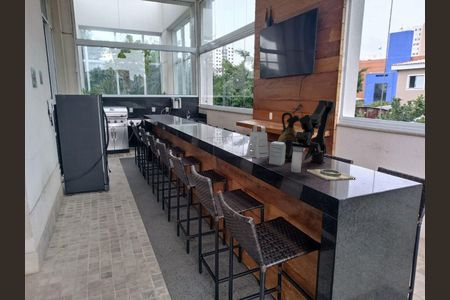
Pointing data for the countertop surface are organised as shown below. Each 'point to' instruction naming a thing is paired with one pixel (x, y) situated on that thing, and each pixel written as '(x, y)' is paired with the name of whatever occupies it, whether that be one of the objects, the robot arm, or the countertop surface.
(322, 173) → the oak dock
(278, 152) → the supplement box
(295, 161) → the cylinder
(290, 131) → the ceramic jug
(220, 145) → the countertop surface
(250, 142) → the grater
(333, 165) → the countertop surface
